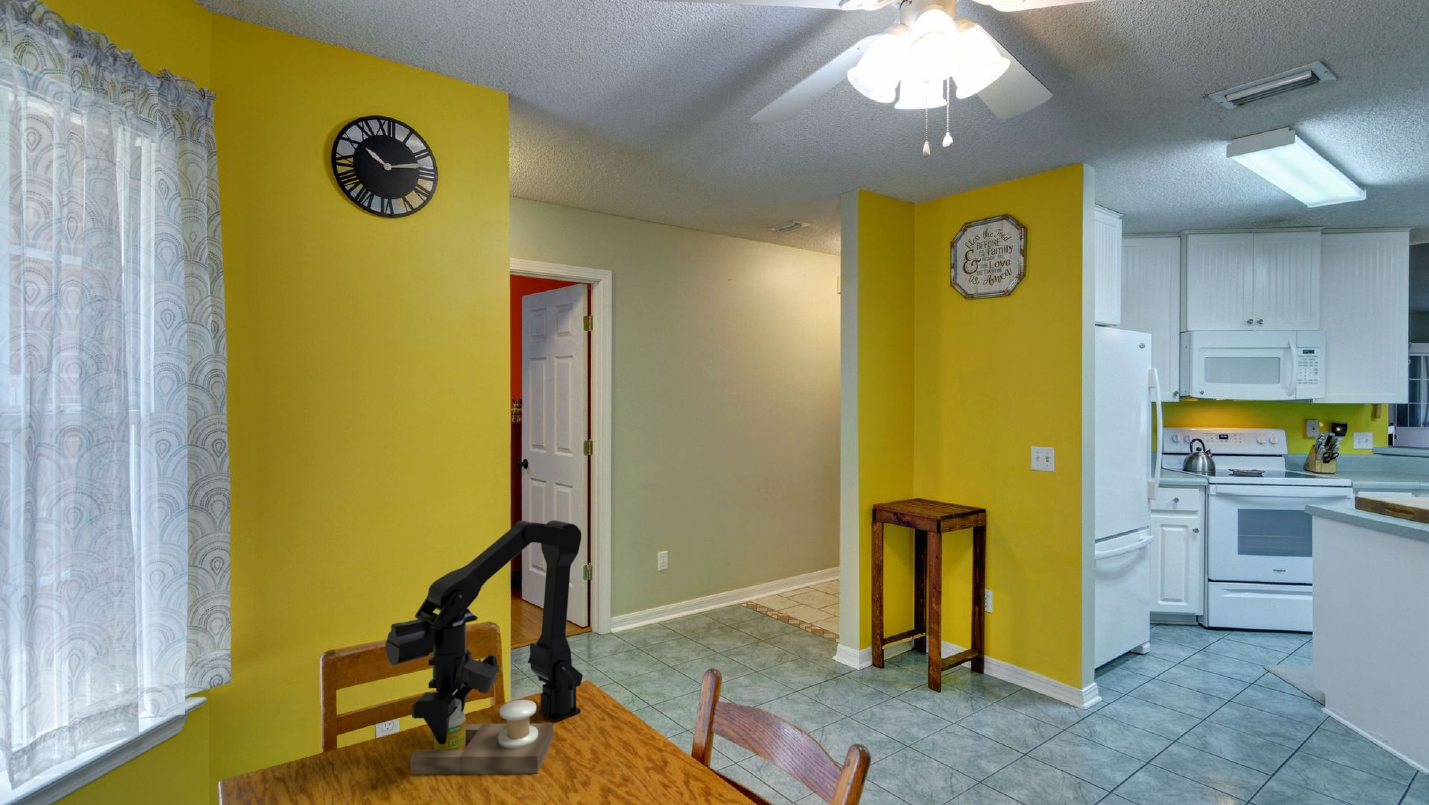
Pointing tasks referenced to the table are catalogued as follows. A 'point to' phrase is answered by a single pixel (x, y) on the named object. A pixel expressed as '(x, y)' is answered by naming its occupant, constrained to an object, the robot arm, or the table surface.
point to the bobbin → (518, 725)
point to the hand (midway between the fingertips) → (449, 734)
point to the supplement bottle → (454, 731)
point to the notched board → (485, 754)
